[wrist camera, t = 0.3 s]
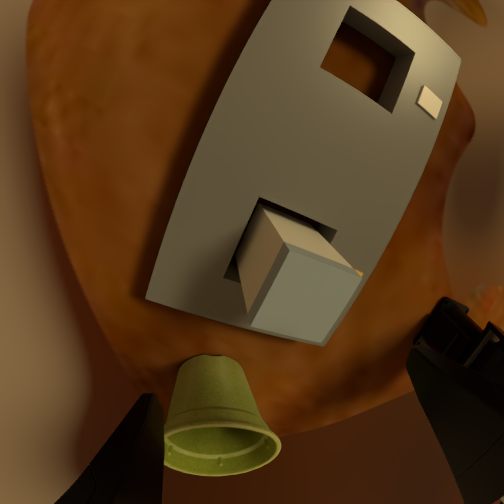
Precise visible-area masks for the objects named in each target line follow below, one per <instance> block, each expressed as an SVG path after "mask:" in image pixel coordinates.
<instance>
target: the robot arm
mask: <svg viewBox="0 0 504 504" xmlns="http://www.w3.org/2000/svg"><path fill="white" fill-rule="evenodd" d="M468 312H469V308H468V307H467V306H465V305H463V304H461V303H459V302H456V301H454V300H452V299H450V298H448V297H444V298H443V299H442V301H441V302H440V304H439V305H438V307H437V309H436V310H435V312H434V313H433V315H432V316H431V318H430V319H429V321H428V322H427V324H426V325H425V326H424V328H423V329H422V331H421V332H420V333H419V335H418V336H417V338H416V339H415V340H414V342H413V344H414V345H415V347H413V348H411V350H410V353H409V356H408V359H407V362H406V369H407V371H408V374H409V376H410V379H411V381H412V384H413V387H414V389H415V392H416V395H417V397H418V399H419V402H420V404H421V406H422V408H423V410H424V412H425V414H426V416H427V418H428V420H429V422H430V424H431V426H432V428H433V430H434V433H435V435H436V437H437V439H438V441H439V443H440V446H441V448H442V450H443V452H444V455H445V457H446V459H447V461H448V464H449V466H450V468H451V471H452V473H453V476H454V478H455V481H456V483H457V486H458V488H459V491H460V493H461V496H462V498H463V501H464V504H492V503H494V502H495V501H497V500H498V499H500V498H501V500H502V501H501V502H499V503H498V504H504V331H503V330H502V329H500V328H499V327H498V326H496V325H495V324H493V323H492V322H490V321H489V322H488V323H487V325H486V327H485V329H484V330H482V329H481V328H480V327H479V326H478V325H477V324H476V323H475V322H474V321H473V320H472V319H471V318H470V317H469V316H468V315H467V313H468ZM498 339H500V340H499V342H497V340H498ZM164 457H165V443H164V416H163V408H162V406H161V404H160V402H159V400H158V398H157V396H156V394H154V393H144V394H142V395H141V396H140V398H139V399H138V400H137V402H136V403H135V404H134V406H133V407H132V408H131V410H130V411H129V412H128V414H127V415H126V416H125V417H124V419H123V420H122V421H121V423H120V424H119V425H118V427H117V428H116V429H115V431H114V432H113V433H112V435H111V436H110V437H109V438H108V440H107V441H106V443H105V444H104V445H103V446H102V448H101V449H100V451H99V452H98V453H97V454H96V456H95V457H94V458H93V460H92V461H91V462H90V465H88V466H87V467H86V469H85V470H84V471H83V473H82V474H81V475H80V476H79V478H78V479H77V480H76V481H75V483H74V484H73V485H72V486H71V487H70V488H69V489H68V490H67V491H66V492H65V493H64V494H63V495H62V496H61V497H60V498H59V499H58V500H57V501H56V502H55V503H54V504H162V491H163V490H162V489H163V472H164Z"/></svg>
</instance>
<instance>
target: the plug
mask: <svg viewBox="0 0 504 504" xmlns="http://www.w3.org/2000/svg"><path fill="white" fill-rule="evenodd" d="M235 256H236V261H237V266H238V271H239V276H240V280H241V285H242V290H243V295H244V299H245V304H246V309H247V313H248V318H249V323H250V326H251V327H255V328H259V329H263V330H267V331H271V332H275V333H279V334H283V335H288V336H292V337H296V338H301V339H305V340H310V341H314V342H319V343H322V341H323V340H324V338H325V337H326V335H327V334H328V332H329V331H330V329H331V328H332V326H333V325H334V323H335V322H336V320H337V319H338V317H339V316H340V314H341V312H342V311H343V309H344V308H345V306H346V305H347V303H348V301H349V300H350V298H351V297H352V295H353V293H354V292H355V290H356V288H357V287H358V285H359V283H360V282H361V280H362V277H361V276H360V275H359V274H358V273H357V272H356V271H355V270H354V269H353V268H352V266H351V265H350V264H349V263H348V262H347V261H346V260H345V259H344V258H343V257H342V256H341V255H340V254H339V253H338V252H337V251H336V250H335V249H334V248H333V247H332V246H331V245H330V244H329V243H328V242H327V241H326V240H325V239H324V238H323V237H322V236H321V235H320V234H319V233H318V232H317V231H316V230H315V229H314V228H313V227H312V226H311V225H310V224H309V223H306V222H304V221H302V220H299V219H297V218H295V217H292V216H290V215H288V214H285V213H283V212H280V211H278V210H275V209H273V208H271V207H268V206H266V205H263V204H261V203H258V205H257V207H256V209H255V212H254V214H253V216H252V218H251V221H250V223H249V225H248V227H247V229H246V232H245V234H244V236H243V238H242V241H241V243H240V245H239V247H238V250H237V252H236V254H235Z"/></svg>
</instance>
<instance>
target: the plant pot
mask: <svg viewBox="0 0 504 504" xmlns="http://www.w3.org/2000/svg"><path fill="white" fill-rule="evenodd" d="M164 443H165V457H164V465H166V466H168V467H170V468H172V469H175V470H178V471H181V472H184V473H189V474H194V475H202V476H225V475H234V474H240V473H245V472H248V471H251V470H253V469H257V468H259V467H262V466H263V465H265V464H267V463H269V462H270V461H272V460H273V459H274V458H275V457H276V456H277V455H278V454H279V452H280V450H281V442H280V440H279V438H278V436H277V435H276V434H275V433H273V432H272V431H270V429H269V427H268V425H267V424H266V423H265V422H264V421H263V420H262V417H261V415H260V412H259V410H258V407H257V405H256V402H255V400H254V397H253V395H252V392H251V390H250V387H249V384H248V382H247V379H246V376H245V374H244V371H243V369H242V367H241V366H240V365H239V364H238V363H237V362H236V361H235V360H233V359H231V358H229V357H226V356H210V355H206V354H204V355H199V356H195V357H193V358H191V359H189V360H187V361H186V362H185V363H183V364H182V366H181V367H180V369H179V371H178V375H177V379H176V383H175V387H174V391H173V395H172V400H171V404H170V408H169V412H168V416H167V420H166V423H165V424H164Z"/></svg>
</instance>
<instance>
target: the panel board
mask: <svg viewBox="0 0 504 504" xmlns="http://www.w3.org/2000/svg"><path fill="white" fill-rule="evenodd" d="M341 22H344V23H346V24H347V25H349V26H351V27H352V28H354V29H355V30H357V31H359V32H360V33H362V34H363V35H365V36H366V37H368V38H369V39H371V40H372V41H374V42H375V43H376V44H378V45H379V46H381V47H382V48H383V49H385V50H386V51H387V52H389V53H390V54H391V55H393V56H394V57H395V58H396V59H395V61H394V64H393V66H392V69H391V71H390V74H389V76H388V79H387V81H386V83H385V86H384V88H383V91H382V93H381V95H380V98H379V100H378V102H377V103H376V102H374V101H373V100H372V99H370V98H369V97H367V96H366V95H364V94H363V93H361V92H360V91H358V90H356V89H355V88H353V87H352V86H350V85H349V84H347V83H345V82H344V81H342V80H340V79H339V78H337V77H335V76H334V75H332V74H330V73H329V72H327V71H325V70H323V69H322V68H320V65H321V63H322V61H323V59H324V57H325V55H326V53H327V51H328V49H329V47H330V45H331V43H332V41H333V38H334V36H335V34H336V32H337V30H338V28H339V26H340V24H341ZM460 64H461V58H460V57H459V56H458V55H457V54H456V53H455V52H454V51H453V50H452V49H451V48H450V47H449V46H448V45H447V44H446V43H445V42H444V41H443V40H442V39H441V38H440V37H439V36H438V35H437V34H436V33H435V32H433V31H432V30H431V29H430V28H429V27H428V26H427V25H426V24H425V23H424V22H422V21H421V20H420V19H419V18H418V17H416V16H415V15H414V14H413V13H412V12H410V11H409V10H408V9H407V8H405V7H404V6H403V5H402V4H400V3H399V2H398V1H396V0H271V2H270V4H269V5H268V7H267V9H266V10H265V12H264V14H263V15H262V17H261V19H260V20H259V22H258V24H257V26H256V27H255V29H254V31H253V33H252V35H251V36H250V38H249V40H248V42H247V44H246V45H245V47H244V49H243V51H242V53H241V55H240V57H239V59H238V61H237V63H236V64H235V66H234V68H233V70H232V72H231V74H230V76H229V78H228V80H227V82H226V85H225V87H224V89H223V91H222V93H221V95H220V97H219V99H218V101H217V103H216V106H215V108H214V110H213V112H212V114H211V117H210V119H209V121H208V123H207V126H206V128H205V130H204V133H203V135H202V137H201V140H200V142H199V144H198V147H197V149H196V151H195V154H194V156H193V159H192V161H191V164H190V166H189V169H188V171H187V174H186V177H185V179H184V182H183V184H182V187H181V190H180V192H179V195H178V198H177V200H176V203H175V206H174V209H173V212H172V214H171V217H170V220H169V223H168V226H167V229H166V232H165V235H164V238H163V241H162V244H161V247H160V250H159V253H158V257H157V260H156V263H155V266H154V270H153V273H152V276H151V280H150V283H149V287H148V290H147V294H146V297H145V299H147V300H150V301H153V302H156V303H159V304H162V305H165V306H169V307H172V308H175V309H178V310H181V311H185V312H188V313H191V314H195V315H198V316H201V317H205V318H208V319H212V320H215V321H219V322H223V323H226V324H230V325H234V326H237V327H241V328H245V329H249V330H253V331H257V332H261V333H265V334H269V335H273V336H277V337H282V338H286V339H290V340H295V341H299V342H304V343H309V344H313V345H318V346H323V347H324V346H325V345H326V343H327V342H328V340H329V339H330V337H331V336H332V335H333V333H334V332H335V330H336V329H337V327H338V326H339V324H340V323H341V321H342V320H343V318H344V317H345V315H346V314H347V312H348V310H349V309H350V307H351V306H352V304H353V303H354V301H355V299H356V298H357V296H358V295H359V293H360V291H361V290H362V288H363V286H364V285H365V283H366V281H367V280H368V278H369V276H370V275H371V273H372V271H373V269H374V268H375V266H376V264H377V262H378V261H379V259H380V257H381V255H382V253H383V252H384V250H385V248H386V246H387V244H388V242H389V241H390V239H391V237H392V235H393V233H394V231H395V229H396V227H397V225H398V223H399V221H400V219H401V217H402V215H403V213H404V211H405V209H406V207H407V205H408V203H409V201H410V199H411V197H412V195H413V192H414V190H415V188H416V186H417V184H418V182H419V179H420V177H421V175H422V172H423V170H424V168H425V165H426V163H427V161H428V158H429V156H430V153H431V151H432V148H433V146H434V143H435V141H436V138H437V135H438V133H439V130H440V127H441V125H442V122H443V119H444V116H445V113H446V110H447V107H448V104H449V101H450V98H451V95H452V92H453V89H454V85H455V82H456V78H457V75H458V71H459V68H460ZM259 197H261V198H264V199H266V200H269V201H271V202H273V203H276V204H278V205H281V206H283V207H285V208H288V209H290V210H292V211H295V212H297V213H299V214H302V215H304V216H306V217H309V218H311V219H313V220H315V221H318V222H320V223H321V225H320V227H319V229H318V230H317V232H318V233H319V234H320V235H321V236H322V237H323V238H324V239H325V240H326V241H327V242H328V243H329V244H330V245H331V246H332V247H333V248H334V249H335V250H336V251H337V252H338V253H339V254H340V255H341V256H342V257H343V258H344V259H345V260H346V261H347V262H348V263H349V264H350V265H351V266H352V268H353V269H354V270H355V271H356V272H357V273H358V274H359V275H360V276H361V277H362V280H361V282H360V283H359V285H358V287H357V288H356V290H355V292H354V293H353V295H352V297H351V298H350V300H349V301H348V303H347V305H346V306H345V308H344V309H343V311H342V312H341V314H340V316H339V317H338V319H337V320H336V322H335V323H334V325H333V326H332V328H331V329H330V331H329V332H328V334H327V335H326V337H325V338H324V340H323V341H322V343H319V342H314V341H310V340H305V339H301V338H296V337H292V336H288V335H283V334H279V333H275V332H271V331H267V330H263V329H259V328H255V327H251V326H250V323H249V318H248V313H247V309H246V304H245V299H244V295H243V290H242V285H241V280H240V276H239V271H238V266H235V265H232V264H229V263H230V261H231V258H232V256H233V254H234V252H235V249H236V247H237V245H238V243H239V240H240V238H241V236H242V234H243V231H244V229H245V227H246V225H247V223H248V220H249V218H250V216H251V214H252V211H253V209H254V207H255V205H256V203H257V200H258V198H259Z"/></svg>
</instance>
